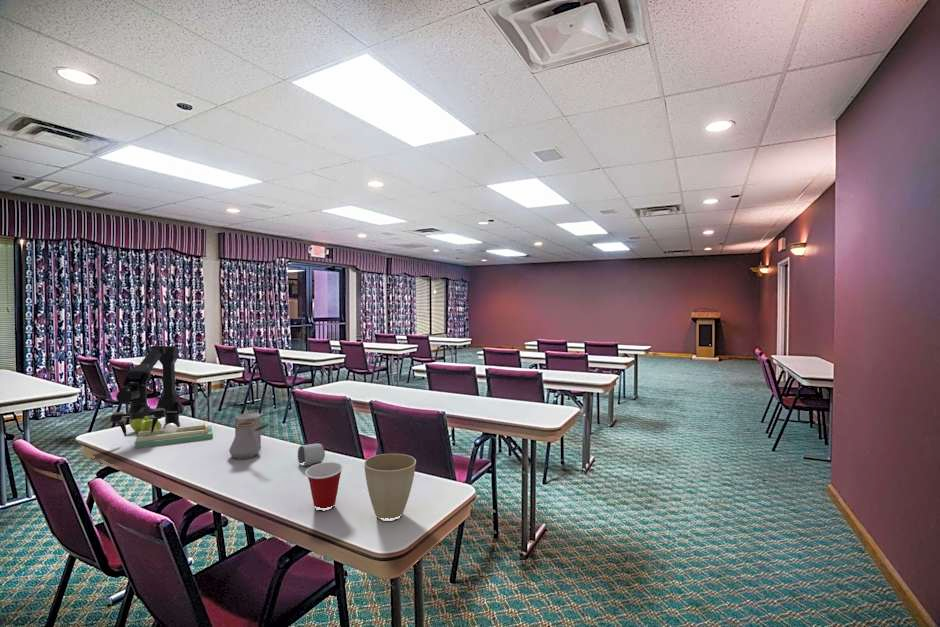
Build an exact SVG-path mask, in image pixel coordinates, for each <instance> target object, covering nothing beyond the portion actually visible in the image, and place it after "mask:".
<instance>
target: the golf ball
mask: <svg viewBox="0 0 940 627" xmlns="http://www.w3.org/2000/svg"><path fill="white" fill-rule="evenodd" d="M177 427H178V426H176V424H174V423H169V424H167V425H166V426H165V427H164V426H163V429H164V432H165V433H166V434H172V433H175V432H176V431H177Z"/></svg>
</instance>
